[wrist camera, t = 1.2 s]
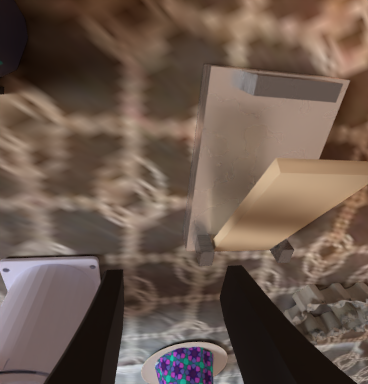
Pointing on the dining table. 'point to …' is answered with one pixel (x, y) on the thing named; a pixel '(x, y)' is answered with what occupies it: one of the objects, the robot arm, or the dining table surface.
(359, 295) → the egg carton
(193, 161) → the block
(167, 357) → the purple beige domed disc
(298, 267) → the dining table surface
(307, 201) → the latch bar
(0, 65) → the speaker
